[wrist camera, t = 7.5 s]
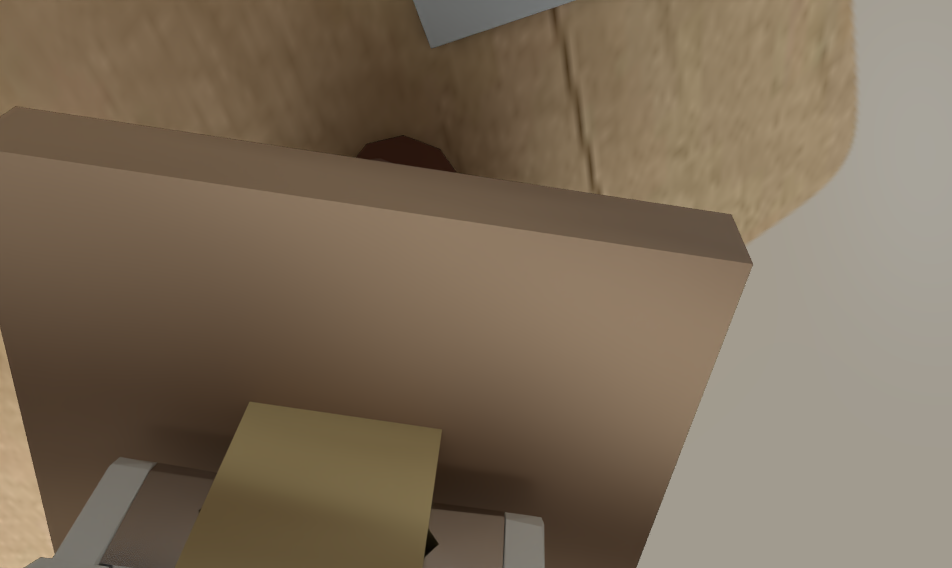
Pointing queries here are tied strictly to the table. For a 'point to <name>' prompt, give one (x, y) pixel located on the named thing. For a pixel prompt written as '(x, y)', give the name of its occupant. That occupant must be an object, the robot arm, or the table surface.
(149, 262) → the lid
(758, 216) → the table surface
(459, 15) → the felt pad
